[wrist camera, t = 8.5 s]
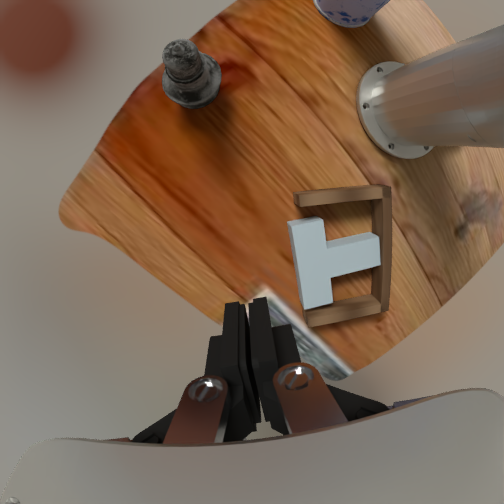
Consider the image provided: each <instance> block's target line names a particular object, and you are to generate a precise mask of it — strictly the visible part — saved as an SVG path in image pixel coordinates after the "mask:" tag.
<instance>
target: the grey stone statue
mask: <svg viewBox="0 0 504 504" xmlns="http://www.w3.org/2000/svg"><path fill="white" fill-rule="evenodd" d="M162 58H163V62H164V64H165V71H164V73H163V77H162V85H163V89H164V91H165V93H166V95H167V96H168V97H169V98H170V99H171V100H173V101H174V102H176V103H179V104H180V105H182V106H183V107H186V108H190V109H197V108H201V107H204V106H206V105H208V104H210V103H211V102H212V101H213V100H214V99H215V98H216V96H217V94H218V92H219V88H220V83H221V75H222V74H221V70H220V67H219V65H218V63H217V62H216V61H215V60H214V59H213V58H212V57H211V56H209V55H207V54H204V53H201V52H200V51H198V48H197V46H196V45H195V44H194V43H193V42H191V41H189V40H186V39H178V40H174V41H172V42H171V43H169V44H168V45H167V46H166V48H165V49H164V51H163V56H162Z"/></svg>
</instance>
